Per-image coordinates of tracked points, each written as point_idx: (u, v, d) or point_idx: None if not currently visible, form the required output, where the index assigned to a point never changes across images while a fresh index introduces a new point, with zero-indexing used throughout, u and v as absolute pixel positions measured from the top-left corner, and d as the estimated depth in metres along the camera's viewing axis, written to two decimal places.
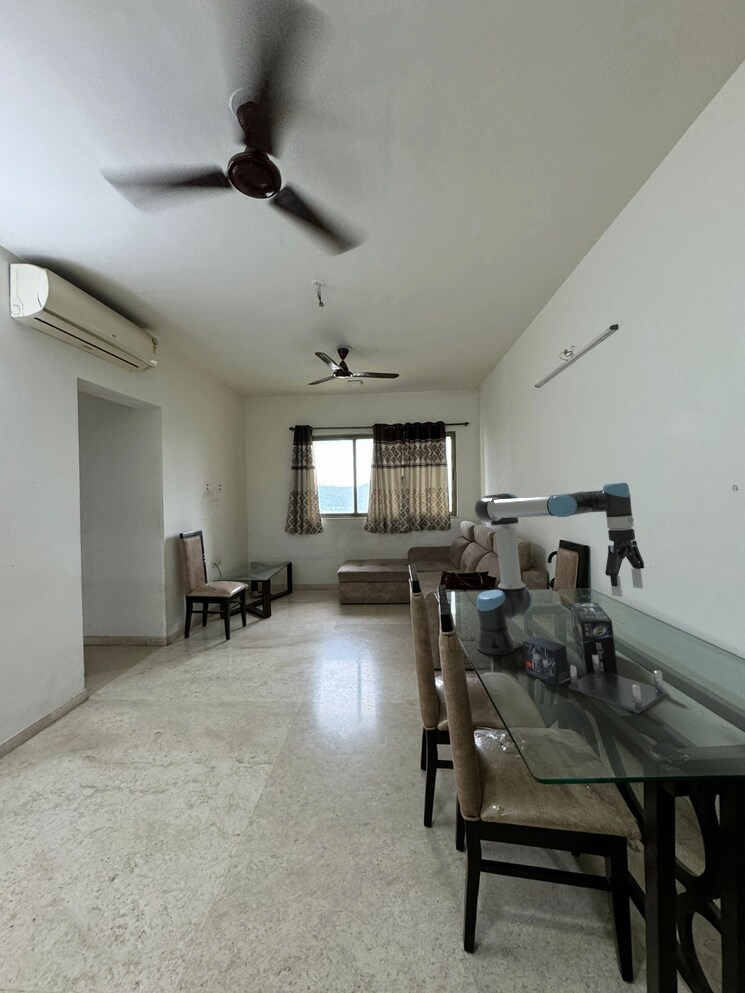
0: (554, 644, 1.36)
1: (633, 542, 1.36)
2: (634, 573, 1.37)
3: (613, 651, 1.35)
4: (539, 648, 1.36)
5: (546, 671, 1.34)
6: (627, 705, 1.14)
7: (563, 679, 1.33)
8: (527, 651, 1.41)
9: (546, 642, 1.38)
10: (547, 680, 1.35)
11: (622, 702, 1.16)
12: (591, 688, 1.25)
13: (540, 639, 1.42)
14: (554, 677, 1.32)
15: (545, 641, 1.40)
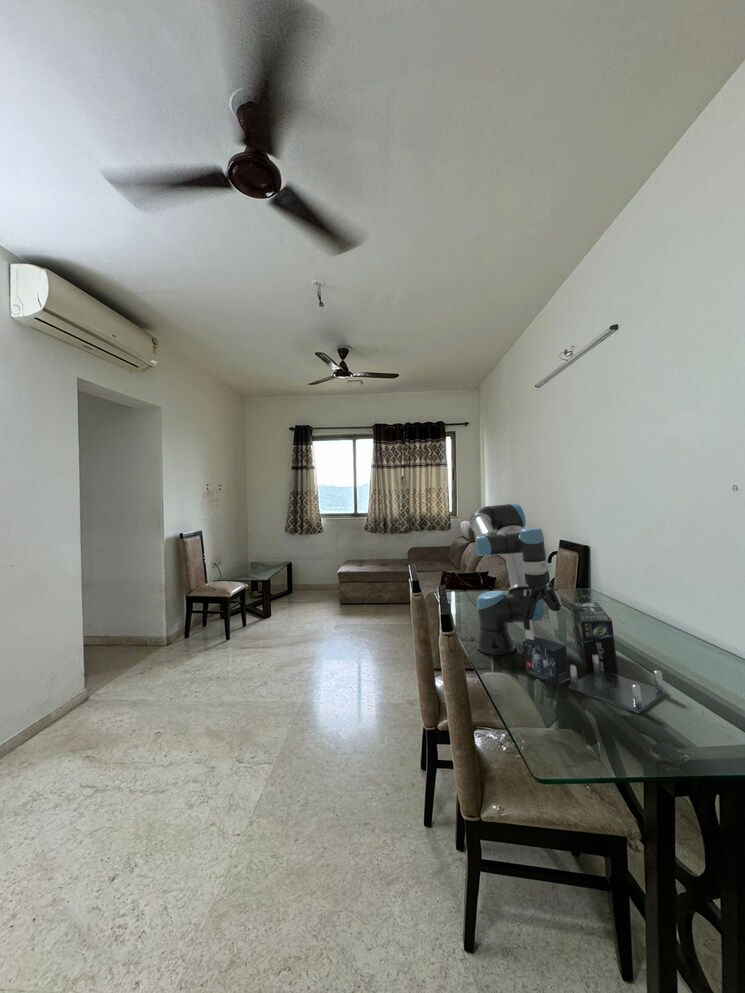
0: (554, 644, 1.36)
1: (549, 585, 1.41)
2: (551, 615, 1.42)
3: (613, 651, 1.35)
4: (539, 648, 1.36)
5: (546, 671, 1.34)
6: (627, 705, 1.14)
7: (563, 679, 1.33)
8: (527, 651, 1.41)
9: (546, 642, 1.38)
10: (547, 680, 1.35)
11: (622, 702, 1.16)
12: (591, 688, 1.25)
13: (540, 639, 1.42)
14: (554, 677, 1.32)
15: (545, 641, 1.40)
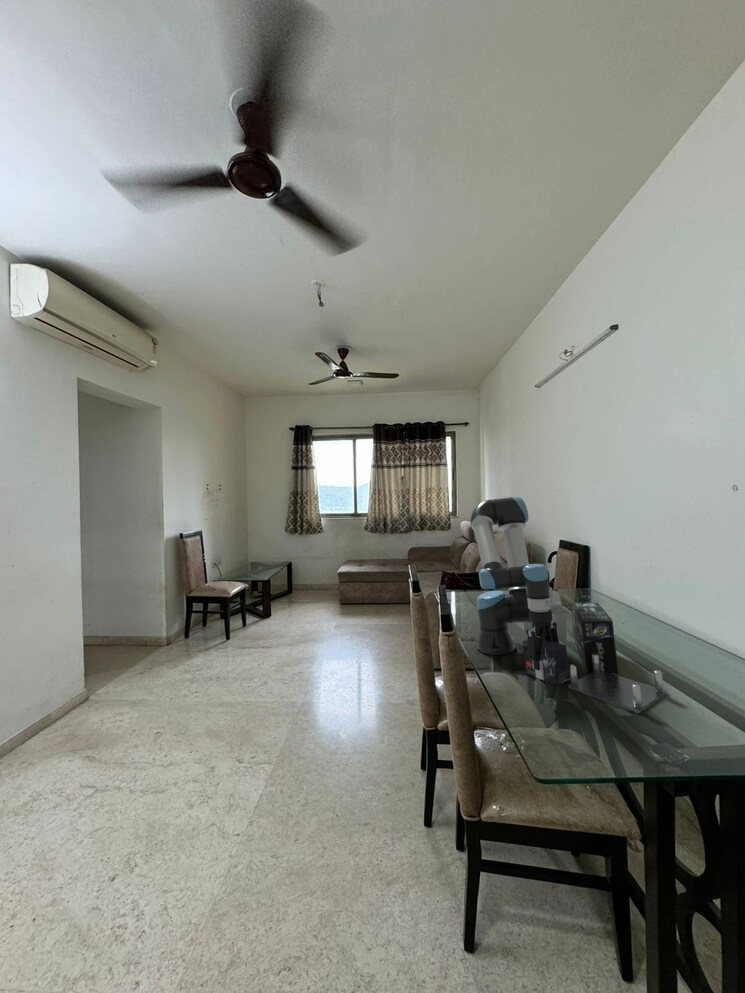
0: (554, 644, 1.36)
1: (553, 623, 1.41)
2: None
3: (614, 651, 1.35)
4: None
5: (546, 671, 1.34)
6: (627, 705, 1.14)
7: (563, 679, 1.33)
8: (527, 651, 1.41)
9: (546, 642, 1.38)
10: (547, 680, 1.34)
11: (622, 702, 1.16)
12: (591, 688, 1.25)
13: None
14: (555, 676, 1.32)
15: (545, 641, 1.39)
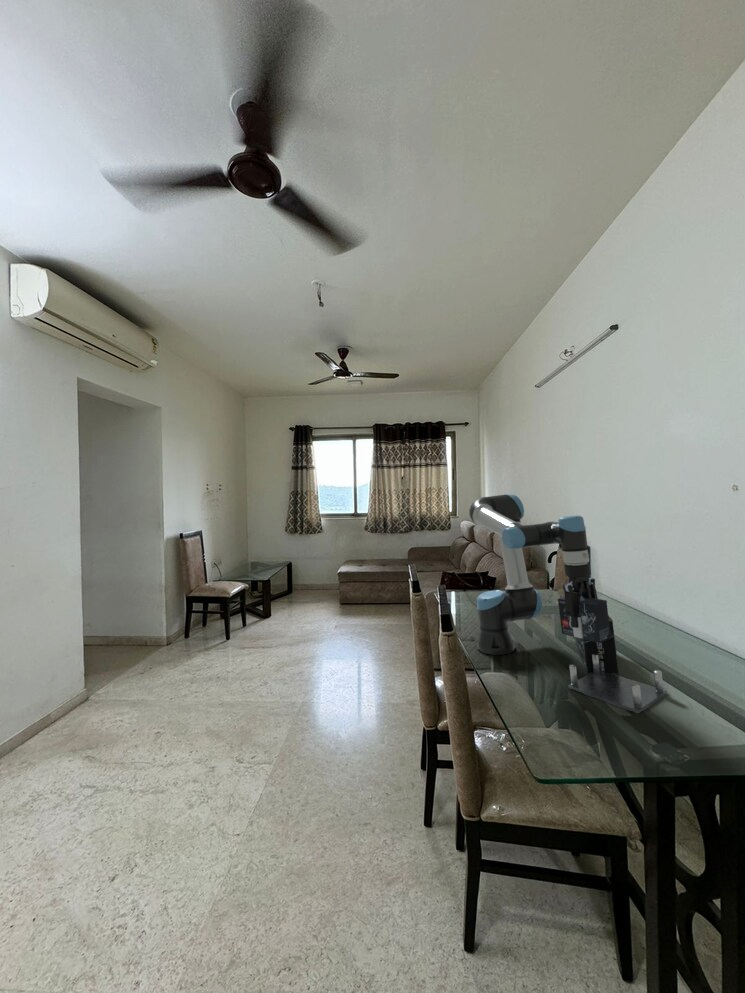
0: (593, 599, 1.27)
1: (591, 579, 1.31)
2: None
3: (614, 651, 1.35)
4: None
5: (585, 628, 1.25)
6: (627, 705, 1.14)
7: (604, 636, 1.23)
8: (563, 609, 1.31)
9: (584, 598, 1.29)
10: (586, 638, 1.25)
11: (622, 702, 1.16)
12: (591, 688, 1.25)
13: None
14: (595, 633, 1.22)
15: (583, 598, 1.30)
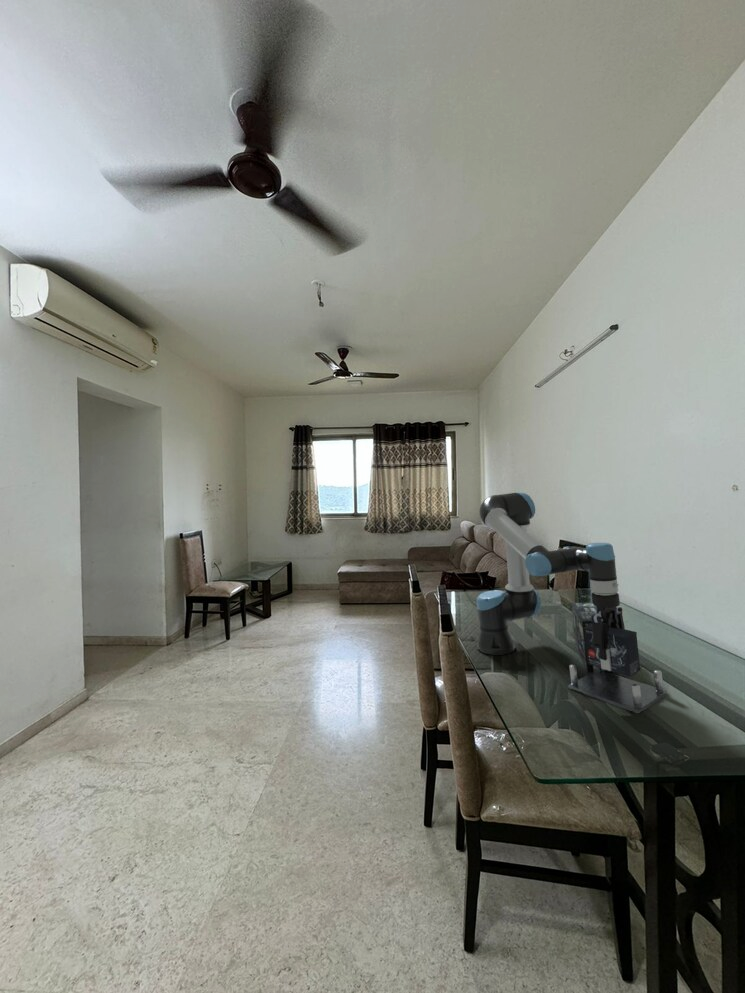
0: (622, 631, 1.22)
1: (618, 609, 1.27)
2: None
3: None
4: None
5: (615, 661, 1.21)
6: (627, 705, 1.14)
7: (634, 669, 1.19)
8: (590, 639, 1.27)
9: (612, 629, 1.25)
10: (615, 671, 1.21)
11: (622, 702, 1.16)
12: (591, 688, 1.25)
13: None
14: (625, 667, 1.18)
15: (610, 628, 1.26)
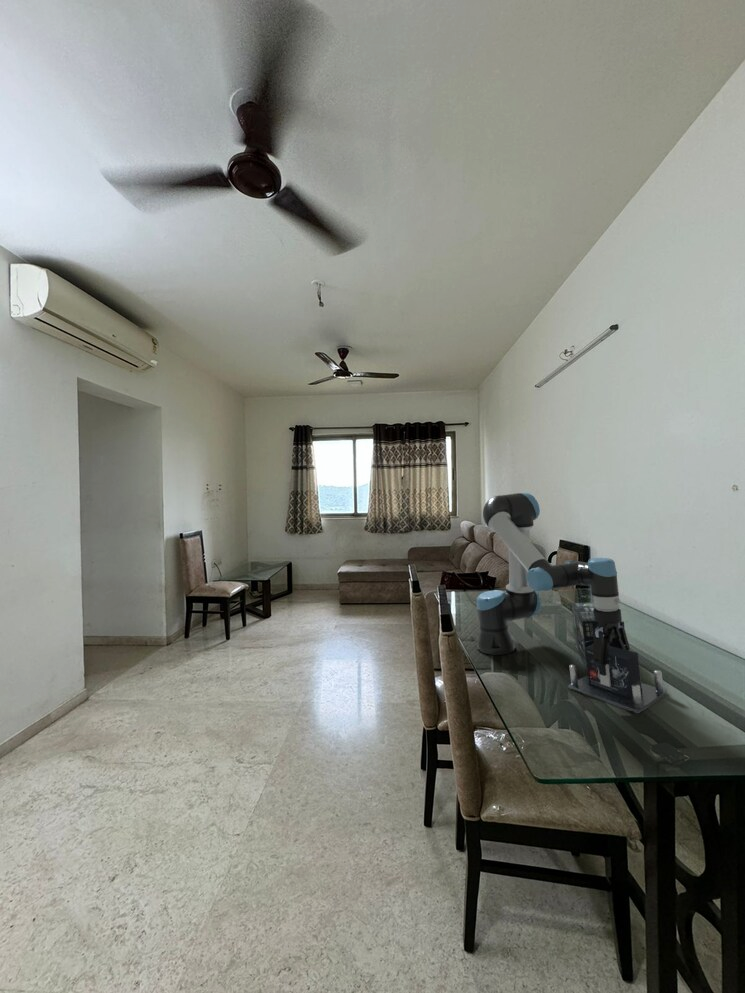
0: (624, 651, 1.22)
1: (620, 623, 1.27)
2: None
3: None
4: None
5: (617, 682, 1.20)
6: (627, 705, 1.14)
7: None
8: (592, 659, 1.26)
9: (613, 649, 1.24)
10: (617, 692, 1.20)
11: (622, 702, 1.16)
12: (591, 688, 1.25)
13: None
14: (627, 688, 1.18)
15: (612, 648, 1.25)
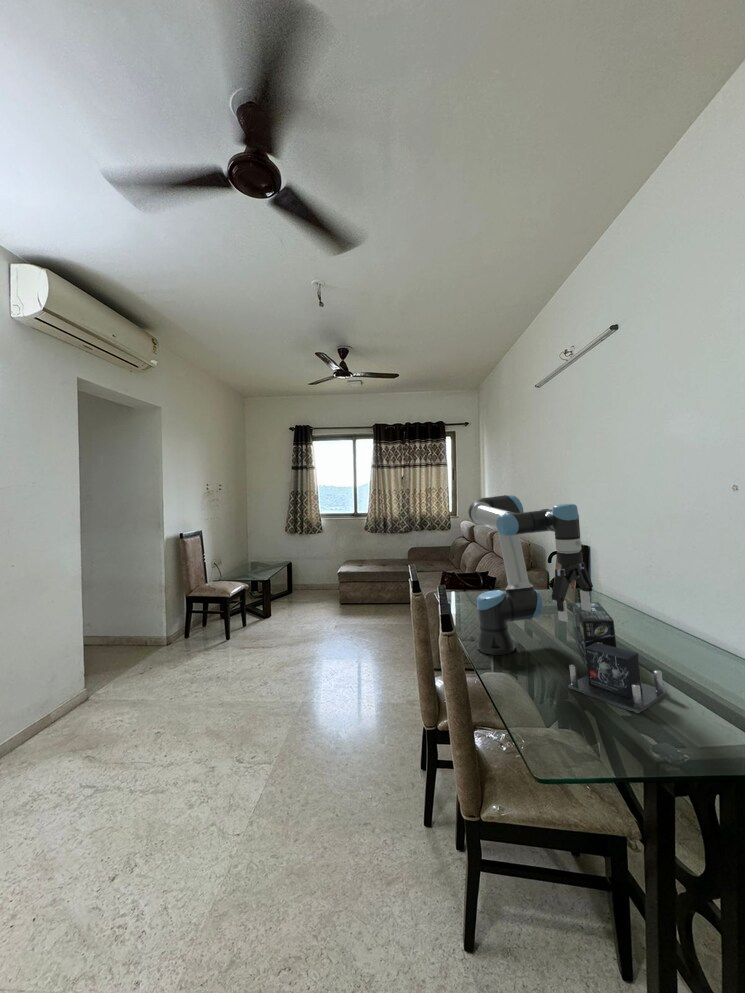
0: (624, 651, 1.22)
1: (582, 564, 1.33)
2: (583, 595, 1.34)
3: None
4: (607, 656, 1.22)
5: (617, 682, 1.20)
6: (627, 705, 1.14)
7: None
8: (592, 659, 1.26)
9: (613, 649, 1.24)
10: (617, 692, 1.20)
11: (622, 702, 1.16)
12: (591, 688, 1.25)
13: (605, 646, 1.28)
14: (627, 688, 1.18)
15: (612, 648, 1.25)
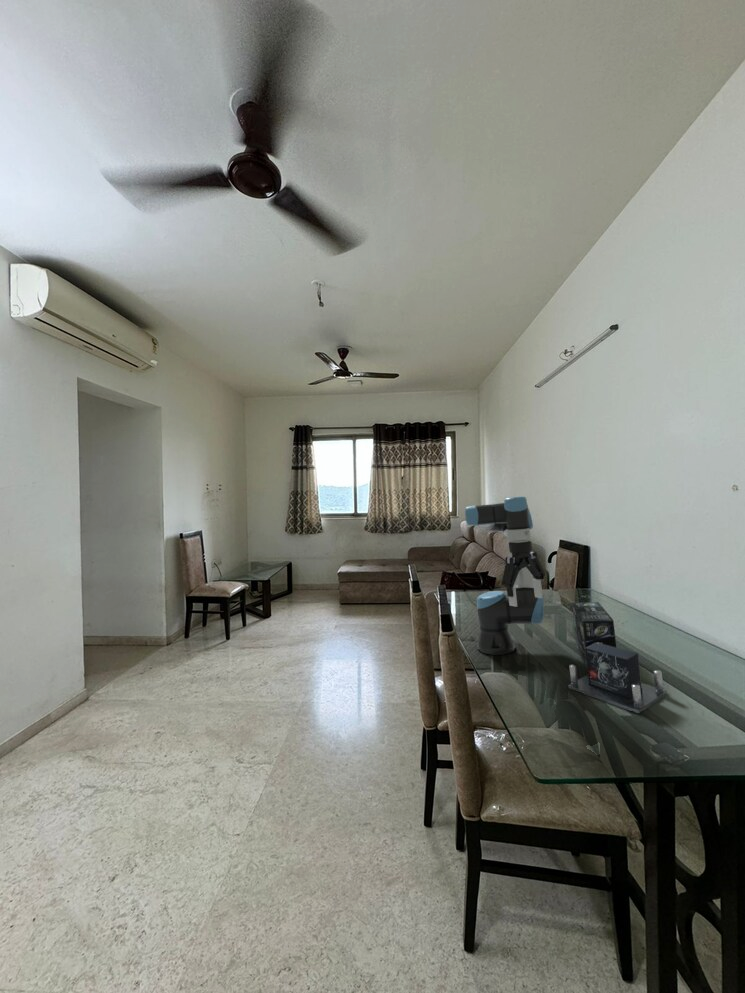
0: (624, 651, 1.22)
1: (533, 554, 1.41)
2: (535, 583, 1.42)
3: None
4: (607, 656, 1.22)
5: (617, 682, 1.20)
6: (627, 705, 1.14)
7: None
8: (592, 659, 1.26)
9: (613, 649, 1.24)
10: (617, 692, 1.20)
11: (622, 702, 1.16)
12: (591, 688, 1.25)
13: (605, 646, 1.28)
14: (627, 688, 1.18)
15: (612, 648, 1.25)
